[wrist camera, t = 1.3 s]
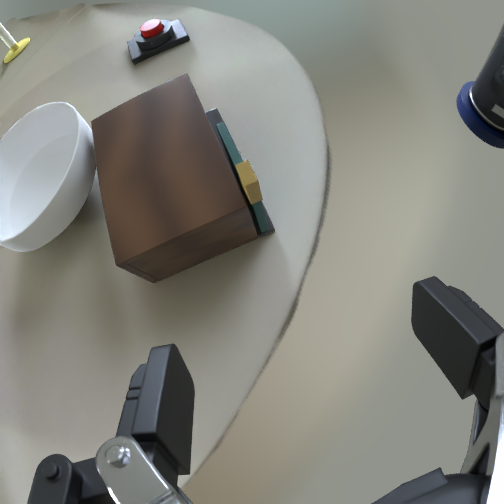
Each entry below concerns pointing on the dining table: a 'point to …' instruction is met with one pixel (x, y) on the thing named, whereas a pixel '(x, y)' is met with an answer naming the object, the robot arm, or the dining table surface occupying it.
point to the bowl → (44, 175)
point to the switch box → (157, 41)
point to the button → (151, 28)
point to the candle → (12, 44)
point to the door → (244, 177)
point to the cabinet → (168, 183)
